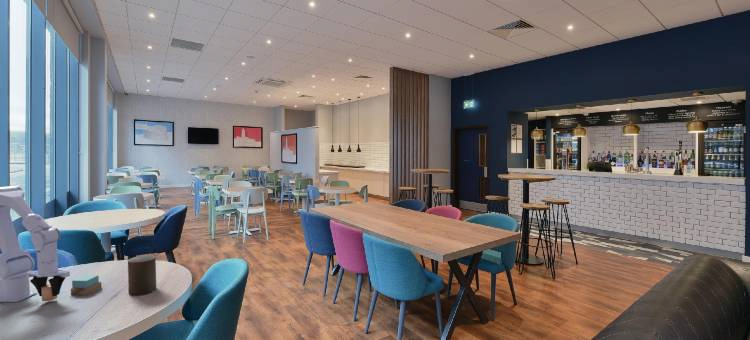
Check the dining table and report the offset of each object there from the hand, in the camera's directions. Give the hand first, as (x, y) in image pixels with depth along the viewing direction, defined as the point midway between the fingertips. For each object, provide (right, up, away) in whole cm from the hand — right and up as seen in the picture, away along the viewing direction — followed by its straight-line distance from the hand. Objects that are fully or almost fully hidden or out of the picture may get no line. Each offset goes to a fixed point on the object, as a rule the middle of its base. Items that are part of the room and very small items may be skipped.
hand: (49, 295), depth 137 cm
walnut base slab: (+6, -3, +10) cm, 12 cm away
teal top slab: (+6, 0, +10) cm, 12 cm away
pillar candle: (+29, -2, +11) cm, 31 cm away
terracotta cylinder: (0, -1, 0) cm, 2 cm away
